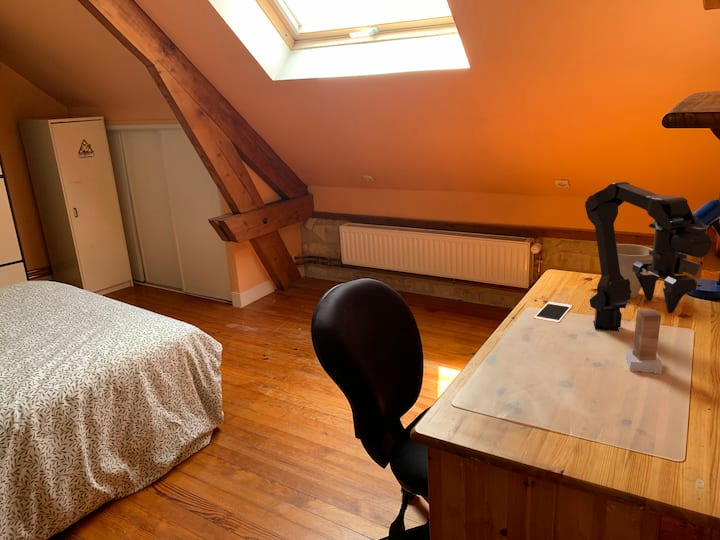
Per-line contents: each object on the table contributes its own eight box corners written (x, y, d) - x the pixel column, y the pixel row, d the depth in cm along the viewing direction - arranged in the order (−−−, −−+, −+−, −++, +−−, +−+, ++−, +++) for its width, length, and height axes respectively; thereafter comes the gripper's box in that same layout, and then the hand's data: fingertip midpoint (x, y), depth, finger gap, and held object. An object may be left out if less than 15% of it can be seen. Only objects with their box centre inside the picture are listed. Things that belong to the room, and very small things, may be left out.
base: (629, 370, 137) (630, 361, 137) (625, 358, 144) (626, 349, 143) (661, 373, 135) (662, 364, 135) (655, 360, 142) (656, 351, 141)
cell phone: (572, 306, 180) (572, 305, 180) (558, 324, 168) (558, 322, 168) (548, 303, 185) (548, 301, 184) (533, 319, 172) (533, 317, 172)
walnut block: (632, 353, 141) (637, 309, 137) (648, 353, 141) (653, 309, 137) (639, 360, 137) (644, 315, 133) (655, 360, 137) (661, 315, 133)
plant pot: (654, 292, 188) (659, 247, 184) (641, 305, 178) (646, 258, 173) (608, 284, 198) (612, 241, 193) (594, 296, 187) (597, 251, 183)
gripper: (723, 255, 129) (714, 318, 133) (674, 237, 147) (668, 293, 151) (677, 258, 128) (669, 321, 133) (633, 240, 146) (628, 295, 151)
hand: (659, 306), depth 142 cm, fingers open, 9 cm apart
